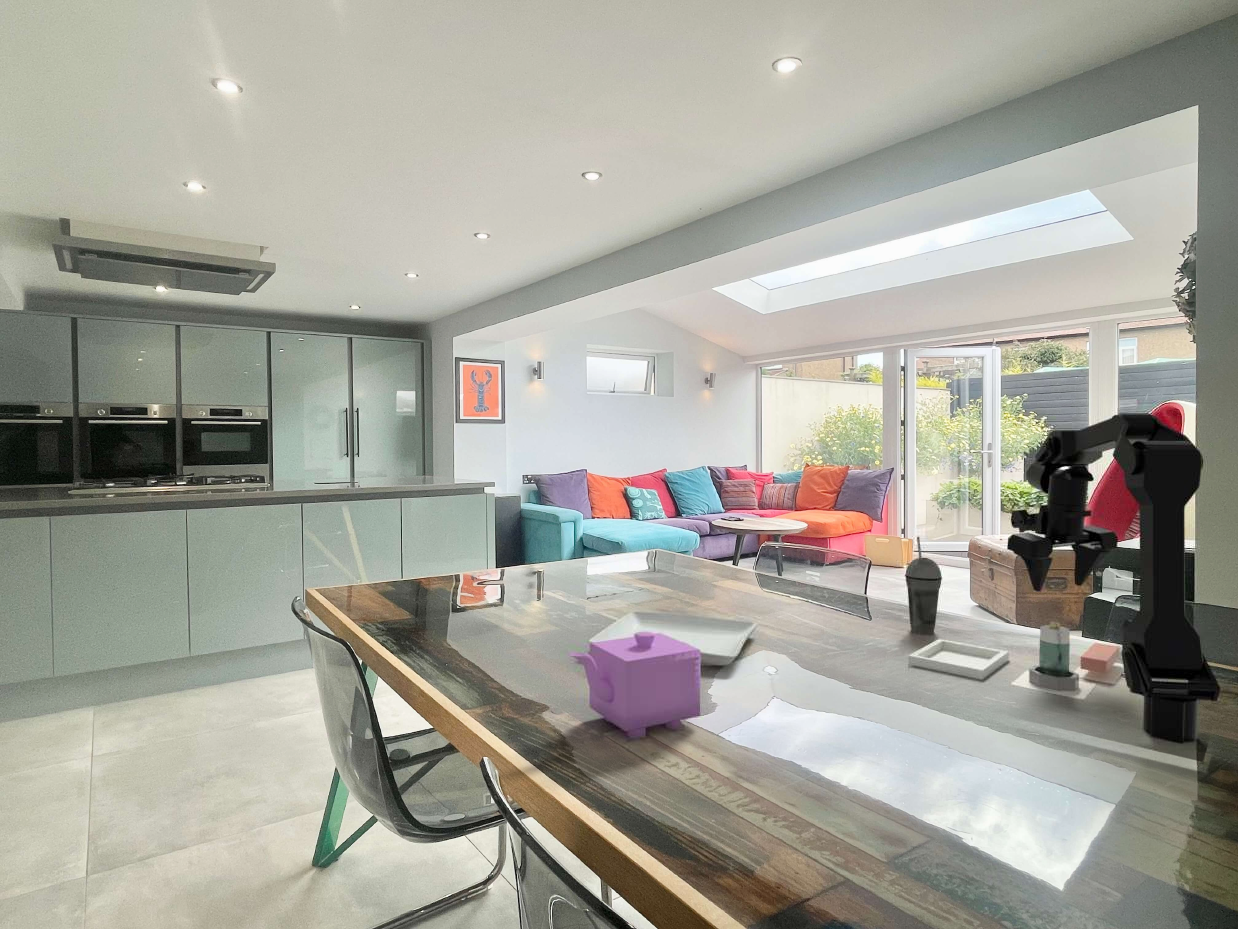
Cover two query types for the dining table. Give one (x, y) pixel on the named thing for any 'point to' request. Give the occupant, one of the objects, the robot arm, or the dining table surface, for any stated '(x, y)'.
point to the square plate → (686, 633)
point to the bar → (1100, 657)
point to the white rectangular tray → (959, 658)
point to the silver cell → (1054, 650)
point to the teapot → (643, 681)
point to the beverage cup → (923, 593)
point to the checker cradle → (1067, 681)
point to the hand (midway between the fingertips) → (1057, 588)
